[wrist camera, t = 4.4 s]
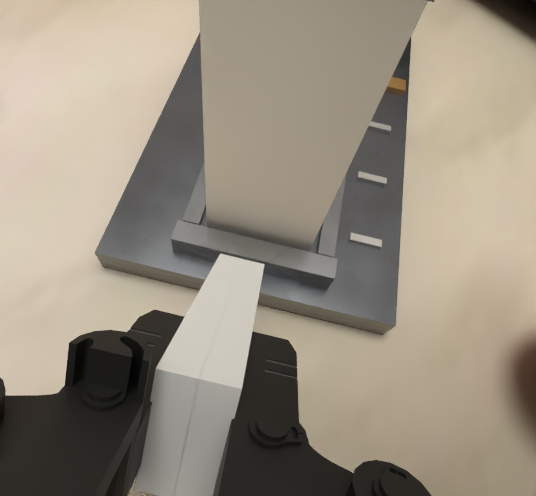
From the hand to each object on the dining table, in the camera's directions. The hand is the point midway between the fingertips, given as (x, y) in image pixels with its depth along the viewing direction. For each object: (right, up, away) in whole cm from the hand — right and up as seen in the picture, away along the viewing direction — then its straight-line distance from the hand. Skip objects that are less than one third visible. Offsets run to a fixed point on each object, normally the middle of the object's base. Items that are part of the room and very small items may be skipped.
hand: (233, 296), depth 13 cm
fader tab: (+1, +3, +6) cm, 7 cm away
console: (+2, +9, +12) cm, 15 cm away
